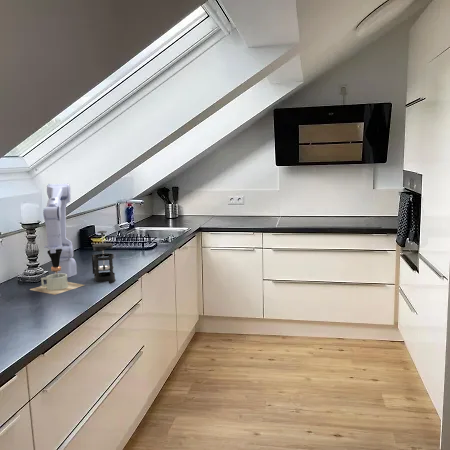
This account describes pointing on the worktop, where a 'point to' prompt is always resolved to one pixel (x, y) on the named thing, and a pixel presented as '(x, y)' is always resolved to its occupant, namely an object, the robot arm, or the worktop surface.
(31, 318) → the worktop surface
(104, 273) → the french press
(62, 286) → the faceted mug
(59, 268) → the plunger
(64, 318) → the worktop surface
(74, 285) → the serving board
